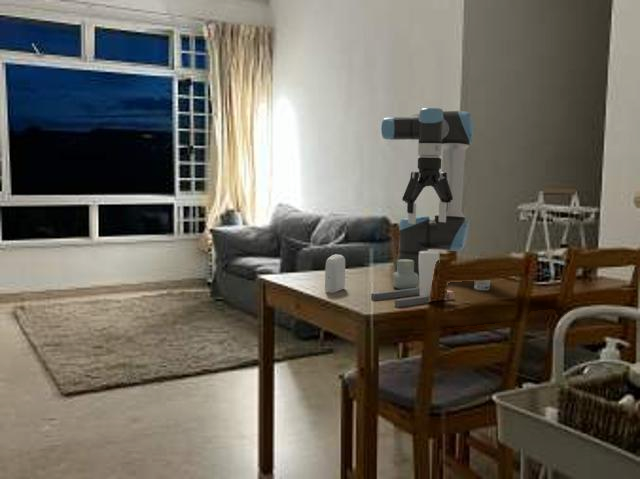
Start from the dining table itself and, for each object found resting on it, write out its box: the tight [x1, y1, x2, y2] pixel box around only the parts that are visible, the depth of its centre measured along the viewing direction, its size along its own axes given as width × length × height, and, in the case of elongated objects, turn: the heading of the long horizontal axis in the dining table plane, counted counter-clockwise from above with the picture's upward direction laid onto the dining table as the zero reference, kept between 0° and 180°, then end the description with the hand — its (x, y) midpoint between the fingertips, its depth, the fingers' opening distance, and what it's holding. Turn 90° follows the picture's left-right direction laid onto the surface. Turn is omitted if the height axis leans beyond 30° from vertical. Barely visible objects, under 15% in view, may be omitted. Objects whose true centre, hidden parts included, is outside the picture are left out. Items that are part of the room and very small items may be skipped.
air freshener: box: [391, 259, 419, 290], centre depth 229 cm, size 11×8×10 cm
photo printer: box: [324, 254, 346, 294], centre depth 223 cm, size 10×4×12 cm, turn 156°
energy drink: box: [473, 254, 492, 292], centre depth 230 cm, size 5×5×12 cm
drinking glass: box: [418, 250, 440, 297], centre depth 214 cm, size 7×7×15 cm
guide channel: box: [370, 287, 455, 308], centre depth 211 cm, size 24×13×2 cm, turn 125°
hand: (427, 222), depth 212 cm, fingers open, 13 cm apart
